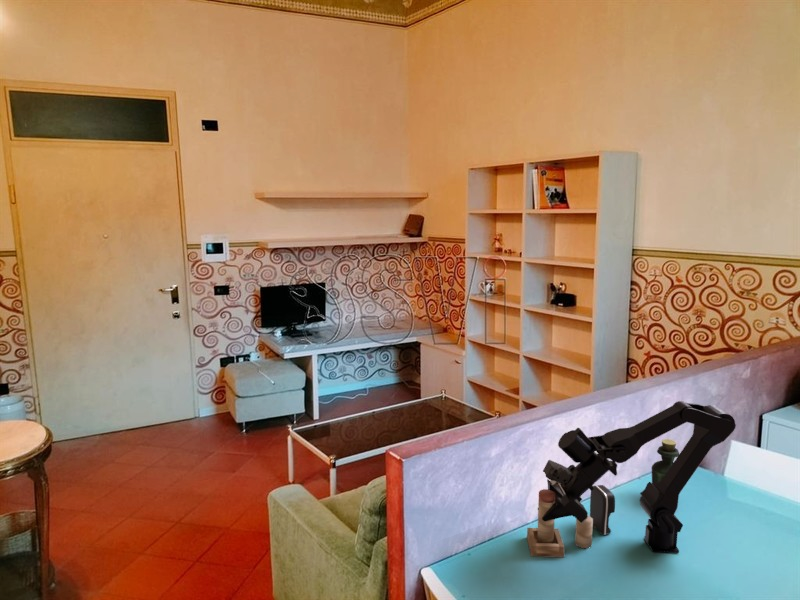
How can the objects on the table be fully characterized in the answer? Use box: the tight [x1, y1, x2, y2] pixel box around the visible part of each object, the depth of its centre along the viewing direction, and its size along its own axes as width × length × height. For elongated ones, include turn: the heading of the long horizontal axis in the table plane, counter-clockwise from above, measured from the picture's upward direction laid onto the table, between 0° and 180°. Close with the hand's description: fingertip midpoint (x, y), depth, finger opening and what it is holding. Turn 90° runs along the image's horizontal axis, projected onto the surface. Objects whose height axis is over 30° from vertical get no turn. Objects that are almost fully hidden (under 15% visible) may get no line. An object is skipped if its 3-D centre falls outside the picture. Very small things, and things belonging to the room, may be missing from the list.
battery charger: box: [589, 484, 616, 536], centre depth 155 cm, size 7×4×11 cm, turn 12°
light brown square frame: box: [526, 527, 565, 558], centre depth 148 cm, size 8×8×3 cm
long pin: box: [537, 488, 555, 544], centre depth 147 cm, size 4×4×13 cm
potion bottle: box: [651, 438, 680, 485], centre depth 169 cm, size 8×8×18 cm
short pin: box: [574, 515, 594, 549], centre depth 149 cm, size 4×4×7 cm
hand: (540, 515), depth 147 cm, fingers closed on long pin, 4 cm apart
